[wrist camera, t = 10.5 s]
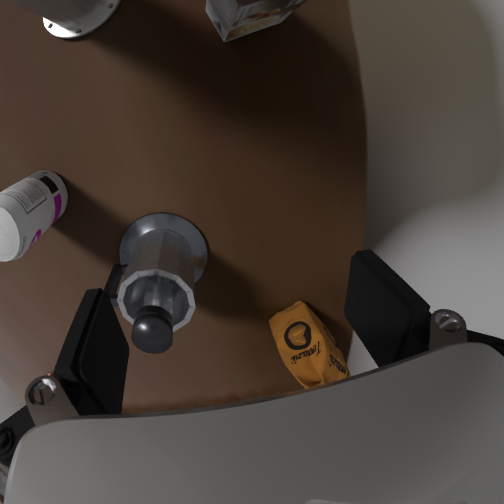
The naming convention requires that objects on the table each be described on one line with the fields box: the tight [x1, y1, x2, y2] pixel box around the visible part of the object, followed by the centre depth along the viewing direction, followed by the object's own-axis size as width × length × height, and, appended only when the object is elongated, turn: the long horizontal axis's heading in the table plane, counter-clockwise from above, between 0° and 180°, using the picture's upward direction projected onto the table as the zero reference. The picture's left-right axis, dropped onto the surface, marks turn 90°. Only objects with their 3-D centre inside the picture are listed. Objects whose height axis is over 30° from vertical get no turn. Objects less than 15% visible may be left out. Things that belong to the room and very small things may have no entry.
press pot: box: [103, 212, 207, 332], centre depth 40 cm, size 14×14×13 cm
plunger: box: [131, 274, 175, 354], centre depth 36 cm, size 6×6×16 cm
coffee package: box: [269, 301, 351, 389], centre depth 48 cm, size 10×12×22 cm
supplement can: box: [0, 170, 68, 262], centre depth 30 cm, size 8×8×15 cm
